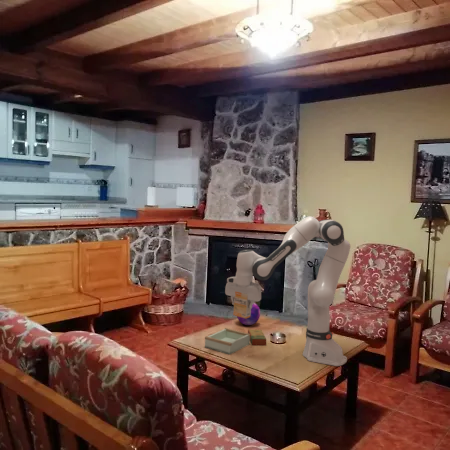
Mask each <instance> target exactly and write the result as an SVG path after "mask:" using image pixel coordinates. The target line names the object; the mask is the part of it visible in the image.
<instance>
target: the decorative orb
mask: <svg viewBox="0 0 450 450" xmlns="http://www.w3.org/2000/svg"><path fill="white" fill-rule="evenodd" d="M236 317H237V320H238V321H239V322H240V323H241V324H243V325H245V326H253V325H254V324H256V323H257V322H258V321H259V319H260V317H261V309H260V306H259V305H258V304H257V303H256V302H254V304H253V305H252V309H251V315H250V317H249V318H246V319H245V318H242V317H238V316H236Z"/></svg>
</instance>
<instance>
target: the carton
mask: <svg viewBox="0 0 450 450" xmlns="http://www.w3.org/2000/svg"><path fill="white" fill-rule="evenodd" d="M247 333H248V334H250V345H251V346H261V347H262V346H265V347H266V346H267V338H266V336H265V334H264V331H263V330H262V329H248V330H247Z"/></svg>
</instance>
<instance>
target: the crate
mask: <svg viewBox="0 0 450 450" xmlns="http://www.w3.org/2000/svg"><path fill="white" fill-rule="evenodd" d="M249 345H251V342H250V334H248V332H244V331H240V330H236V329H232V328H228V327H224V328H223V329H221V330H219V331H217V332H214V333H212V334H210V335H207V336H204V348H206V349H209V350H212V351H216V352H220V353H222V354H225V355H226V354H227V355H230V356H231V355H232V354H234V353H235V352H237V351H240V350H241V349H243V348H245V347H247V346H249Z"/></svg>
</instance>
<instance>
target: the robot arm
mask: <svg viewBox="0 0 450 450" xmlns="http://www.w3.org/2000/svg"><path fill="white" fill-rule="evenodd" d="M315 237H319V238H321V239H323V240H324V241H326V242H327V245H328V246H327V250H326V252H325V255H324V256H323V259H322V261H321V263H320V265H319V268H318V272H317V275H316V279H314V280H312V281H310V283H309V284H308V287H307V327H306V330H305V344H304V345H305V346H304V348H303V352H302V356H303V357H304V358H306V359H307V361H308V362H314V363H319V364H324V365H329V366H333V367H334V366H335V367H340V366H343V365H345V364H346V363H347V361H348V357H347V356H345V355H344V353H343V348H342V346H341V345H340V344H339V343H338V342H336V341H335V339H333V335H334V332H333V331H332V332H331V330H330V318H331V314H330V306H331V305H332V304H333V303H334V298H335V294H336V292H337V287H338V284H339V280H340V278H341V274H342V272H343V270H344V267H345V266H346V263H347V261H348V258H349V254H350V252H351V244H350V242H349V241H348V240H347V239H346V238H345V233H344V228H343V225H342V224H341V223H340V222H338V221H336V220H334V219H322V220H318V219H317V218H316V217H314V216H311V215H309V216H306V217H304V218H303V219H301V220H300V221H298V222H297V223H295V224H294V225H292V227H291V228H290V229H288V231H286V233H285V235H284V237H283V240H282V242H281V244H280V245H279V246H278V248H277V249H275V250H274V251H273V252H272V253H270V254H269V256H268V257H264V256H262V255H260V254H258V253H256V252H255V251H254V250H253V249H243V250H240V251H239V252H238V254H237V257H236V258H237V259H236V265H235V266H236V272H235V276H230V277H228V278H227V279H226V285H225V289H224V293H225V295H226V296H230V300H231V302H232V303H231V304H232V305H233V306H234V298H235V292H241V293H245V294H248V300H250V302H251V304H250V305H248V308H249V309H252V305H253V304H254V303H256V302H260V301H261V300H262V285H261V284H260V283H258V282H253V277H254V278H255V279H257V280H259V281H267V280H269V278H271V277H272V275H273V273H274V272H275V270H276V268H277V267H278V266H279V265H280V264H281V263H282V262H283V261H285V260H286V259H287V258H288V257H290V255H292V254H293V253H295V252H297V251H298V250H299V249H301V248H302V247H304V246H305V245H306V244H307V243H309V242H310V241H311V240H312V239H314V238H315Z"/></svg>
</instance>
